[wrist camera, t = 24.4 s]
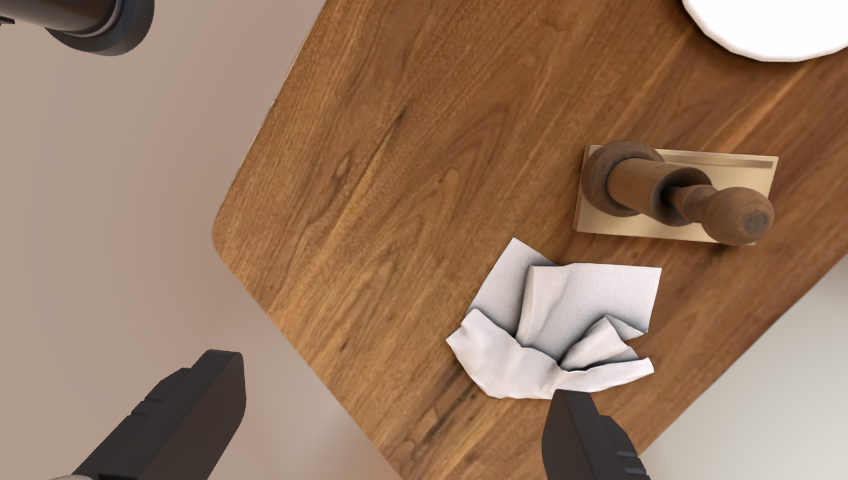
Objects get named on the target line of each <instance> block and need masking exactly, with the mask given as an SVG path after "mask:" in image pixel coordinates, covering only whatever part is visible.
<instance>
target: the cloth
mask: <svg viewBox="0 0 848 480" xmlns="http://www.w3.org/2000/svg"><path fill="white" fill-rule="evenodd" d="M661 270H662V268H652V267H639V266H624V265H611V264H592V263H573V264H570V265H566V266H563V267H559V266H557V265H556V264H554V263H553V262H551V261H550V260H548V259H546V258H545V257H544V256H542V255H541V254H540V253H538V252H537V251H535V250H534V249H532V248H530V247H529V246H527V245H526V244H524V243H522V242H521V241H519V240H517V239H516V238H514V237H513V239H512V240H511V241H510V243H509V244H508V246H507V247H506V249H505V250H504V252H503V253H502V255H501V256H500V258H499V259H498V261H497V262H496V264H495V266H494V267H493V269H492V270H491V272H490V273H489V275H488V276H487V278H486V279H485V281H484V282H483V284H482V286H481V288H480V290H479V291H478V293H477V295H476V297H475V298H474V300H473V301H472V303H471V305H470V307H469V308H468V310H467V311H466V316H465V318H464V320H463V321H462V323H461V327H460V328H459V329H458V330H457V331H455V332H454V333H453V334H452V335H451V336H449V337H448V338H447V339H446V341H447V343H448V344H449V345H450V346H451V348H452V350H453V352H454V354H455V356H456V357H457V359H458V360H459V362H460V363H461V364H462V366H463V367H464V369H465V371H466V372H467V374H468V375H469V376H470V377H471V378H472V379H473V380H474V382H475V383H476V384H477V385H478V386H479V387H480V388H481V389H482V390H483V391H484V392H485V393H486V394H487V395H488V396H490V397H493V398H496V399H502V398H505V397H513V398H517V399H521V398H534V399H552V397H553V394H554V391H555V390H556V389H565V390H574V391H583V392H596V391H601V390H604V389H607V388H610V387H613V386H616V385H621V384H625V383H628V382H631V381H634V380H636V379H639V378H641V377H643V376H646V375H648V374H651V373H653V372H654V370H653V366H652V364H651V362H650V360H649V358H648V357H647V358H645V359H643V360H640V358H639V357H638V356H637V354H636V353H635V352H634V351H633V349H632V348H631V347H630V346H627V345H626V344H625V343H623V342H625V341H626V340H629V339H632V338H636V337H639V336H641V335H643V334H645V333H647V332H648V326H649V320H650V316H651V312H652V308H653V304H654V300H655V296H656V292H657V288H658V284H659V278H660V274H661Z"/></svg>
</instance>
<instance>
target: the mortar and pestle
mask: <svg viewBox="0 0 848 480" xmlns="http://www.w3.org/2000/svg"><path fill="white" fill-rule="evenodd" d="M581 186H582V190H583V193H584V195H585V197H586V199H587V200H588V201H589V202H590V203H591V204H592V205H593V206H594V207H595V208H597V209H599V210H600V211H602V212H604V213H606V214H609V215H611V216H615V217H632V216H636V215H639V214H641V213H642V214H644V215H646V216H648V217H650V218H652V219H654V220H656V221H658V222H660V223H662V224H664V225H667V226H671V227H682V226H686V225H689V224H692V223H701V225H702V227H703V229H704V231H705V232H706V234H707V235H708V236H709V237H711V238H712V239H714V240H715V241H717V242H719V243H722V244H725V245H732V246H740V245H746V244H750V243H753V242H755V241H757V240H759V239H761V238H762V237H763V236H764V235H766V234H767V233H768V231H769V230H770V228H771V227H772V225H773V222H774V210H773V207H772V204H771V203H770V201H769V200H768V199H767V198H766V197H765V196H764V195H762V194H761V193H759V192H757V191H755V190H753V189H750V188H746V187H730V188H726V189H722V190H720V191H718V190H717V189H716V188H714V187H713V185H712V182H711V180H710V178H709V177H708V176H707V174H706V173H704V172H703V171H702V170H700V169H698V168H695V167H691V166H684V165H677V164H670V163H665V161H664V159H663V157H662V156H661V155H660V154H659V153H658V152H657V151H656V150H655V149H654V148H652V147H650V146H648V145H646V144H643V143H639V142H631V141H617V142H612V143H609V144H606V145H604V146H602V147H601V148H599V149H598V150H596V151H595V152H594V153H593V154H592V155H591V156H590V157H589V159H588V160H587V162H586V163H585V165H584V168H583V170H582V174H581Z"/></svg>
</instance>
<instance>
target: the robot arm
mask: <svg viewBox="0 0 848 480" xmlns="http://www.w3.org/2000/svg"><path fill="white" fill-rule="evenodd" d="M124 1H125V0H0V25H1V23H3V24H15V21H14V19H15V20H19V21H23V22H27V23H31V24H35V25H39V26H42V27H46V28H50V29H54V30H58V31H62V32H64V33H66V34H69V35H73V36H77V37H81V38H95V37H99V36H102V35H104V34H106V33H107V32H109V31H110V30H111V29H112V28H113V27H114V26H115V25H116V23H117V22H118V20H119V19H120V16H121V14H122V11H123V7H124ZM245 407H246V390H245V378H244V364H243V356H242V354H241V353H239V352H231V351H222V350H213V349H210V350H207V351H206V352H205V353H204V354H203V355H202V356H201V357H200V358H199V360H198V361H197V362H196V363H195V364H194V365H193V366H192V367H191V368H181V369H179V370H178V371H176V372H174V373H173V374H171V375H169V376H168V377H166V378H165V379H163V380H161V381H160V382H159V383H158V384H157V385H156V386H155V387H154V389H152V391H151V392H150V393H149V394H148V395H147V396H146V397H145V400H144V401H141V402H140V403H139V404H138V405H137V406H136V407H135V408H134V409H133V411H132V412H131V415H130V416H127V417H126V418H125V419H124V420H123V421H122V422H121V423H120V424H119V425H118V426H117V427H116V428H115V429H114V430H113V431H112V432H111V434H110V435H109V436H108V437H107V438H106V439H105V440H104V441H103V442H102V443H101V444H100V445H99V446H98V447H97V448H96V449H95V450H94V451H93V452H92V453H91V455H89V457H88V458H87V459H86V460H85V461H84V462H83V463H82V464H81V465H80V466H79V467H78V468H77V469H76V470H75V471H74V472H73V473H72V474H71V475H67V476H61V477H57V478H54V479H51V480H207V479H208V477H209V475H210V474H211V472H212V471H213V468H214V467H215V466H216V464H217V462H218V460H219V459H220V457H221V456H222V454H223V452H224V450H225V449H226V447H227V445H228V444H229V442H230V441H231V439H232V437H233V435H234V434H235V432H236V430H237V429H238V427H239V425H240V423H241V421H242V419H243V416H244V412H245ZM542 457H543V462H544V466H545V470H546V474H547V478H548V480H651V479H650V477H649V476H648V475H646V469H645V468H644V466H643V464H642V462H641V460H640V458H638V457H637V452H636V450H635V448H634V446H633V444H632V443H631V441H630V439H629V437H628V435H627V433H626V432H625V431H624V430H623V429H622V428H621V427H620V426H619V425H618V424H617V423H616V422H615V421H614V420H613V419H612V418H611V417H610V416H603V415H599V413H598V411H597V408H596V406H595V404H594V402H593V400H592V398H591V396H590V394H589V393H588V392H583V391H574V390H565V389H556V390H555V391H554V394H553V397H552V401H551V404H550V408H549V412H548V416H547V420H546V423H545V427H544V431H543V435H542Z"/></svg>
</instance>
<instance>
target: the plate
mask: <svg viewBox="0 0 848 480" xmlns="http://www.w3.org/2000/svg"><path fill="white" fill-rule="evenodd" d="M681 1H682V4H683V7H684V9H685V10H686V12H687V13H688V14H689V16H690V17H691V18H692V19H693V21H694V22H695V23H696V25H697V26H698V27H699V29H700V30H701V31H702V32H703V34H704V35H706V36H707V37H709V38H710V39H712V40H713V41H714V42H716V43H717V44H719V45H720V46H722V47H723V48H725V49H726V50H728V51H729V52H731V53H734V54H738V55H741V56H744V57H748V58H751V59H754V60H758V61H761V62H799V61H803V60H807V59H811V58H815V57H820V56H824V55H828V54H832V53H835V52H837V51H839V50H841V49H843V48H845V47H847V46H848V0H681Z"/></svg>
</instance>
